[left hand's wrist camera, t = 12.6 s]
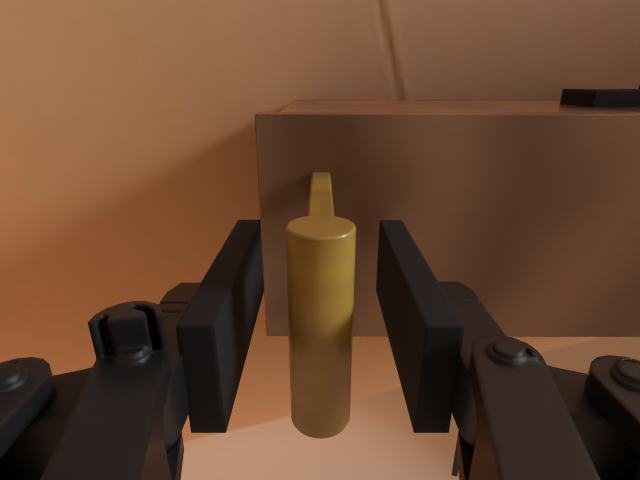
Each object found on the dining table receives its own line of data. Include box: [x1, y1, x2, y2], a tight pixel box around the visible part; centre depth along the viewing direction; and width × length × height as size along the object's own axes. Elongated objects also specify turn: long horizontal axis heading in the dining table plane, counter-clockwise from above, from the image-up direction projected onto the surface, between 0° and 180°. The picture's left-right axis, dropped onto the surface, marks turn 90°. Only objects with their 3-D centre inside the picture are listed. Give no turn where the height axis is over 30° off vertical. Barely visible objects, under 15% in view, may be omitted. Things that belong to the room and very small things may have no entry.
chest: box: [281, 100, 640, 112], centre depth 22 cm, size 17×9×11 cm, turn 90°
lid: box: [255, 112, 640, 438], centre depth 13 cm, size 18×9×8 cm, turn 90°
